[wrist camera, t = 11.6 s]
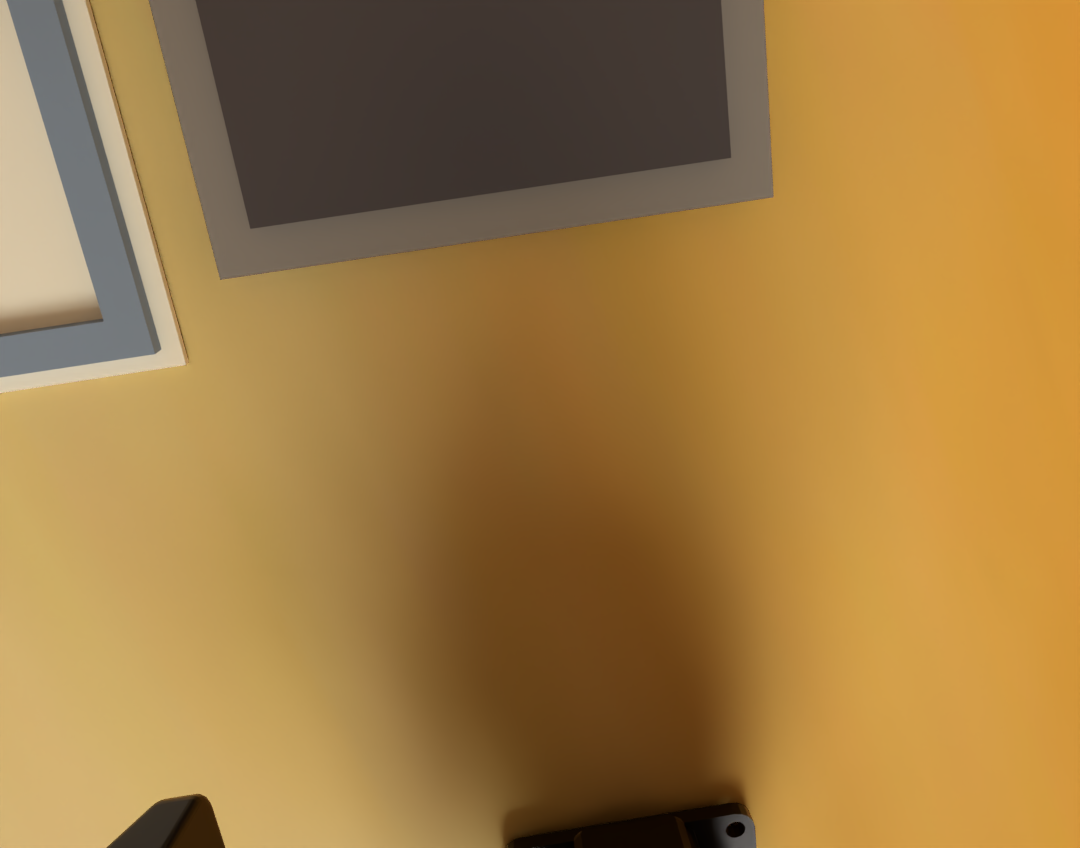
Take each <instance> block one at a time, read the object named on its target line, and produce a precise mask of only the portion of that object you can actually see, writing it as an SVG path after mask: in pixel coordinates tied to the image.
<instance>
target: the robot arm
mask: <svg viewBox="0 0 1080 848" xmlns="http://www.w3.org/2000/svg"><path fill="white" fill-rule="evenodd" d="M733 822H739V823H738V824H736V825H734V826H728V825H729V824H730V823H733ZM107 848H225V845H224V842H223V839H222V836H221V833H220V830H219V827H218V823H217V820H216V817H215V814H214V811H213V808H212V806H211V803H210V802H209V800H208V799H207V797H205V796H203V795H201V794H193V795H187V796H181V797H175V798H168V799H164V800H161V801H159V802H157V803H155V804H154V805H153V806H152V807H150V808H149V809H148V810H147V811H146V812H145V813H144V814H143V815H142V816H141V817H140V818H138V819H137V820H136V821H135V822H134V823H133V824H132V825H131V826H130V827H129V828H128V829H126V830H125V831H124V832H123V833H122V834H121V835H120V836H119V837H118V838H117V839H115V840H114V841H113V842H112V843H111V844H110V845H109V846H108V847H107ZM506 848H756V836H755V826H754V823H753V820H752V817H751V815H750V812H749V810H748V809H747V808H746V807H745V806H744V805H742V804H739V803H728V804H721V805H715V806H709V807H703V808H697V809H691V810H685V811H679V812H673V813H667V814H661V815H655V816H649V817H643V818H637V819H631V820H624V821H618V822H612V823H606V824H600V825H594V826H588V827H582V828H576V829H570V830H564V831H558V832H552V833H546V834H540V835H533V836H527V837H521V838H518V839H515V840H513V841H511V842H510V843H509V844H508V845H507V847H506Z"/></svg>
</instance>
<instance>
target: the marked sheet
mask: <svg viewBox="0 0 1080 848" xmlns="http://www.w3.org/2000/svg"><path fill="white" fill-rule="evenodd" d="M188 363H189V361H188V357H187V354H186V350H185V346H184V343H183V339H182V336H181V332H180V328H179V325H178V321H177V317H176V314H175V310H174V307H173V303H172V299H171V296H170V292H169V288H168V285H167V281H166V278H165V274H164V270H163V267H162V263H161V259H160V256H159V252H158V248H157V245H156V241H155V238H154V234H153V230H152V227H151V223H150V219H149V216H148V212H147V209H146V205H145V201H144V198H143V194H142V190H141V187H140V183H139V180H138V176H137V172H136V169H135V165H134V161H133V158H132V154H131V151H130V147H129V143H128V140H127V136H126V132H125V129H124V125H123V122H122V118H121V114H120V111H119V107H118V103H117V100H116V96H115V93H114V89H113V85H112V82H111V78H110V74H109V71H108V67H107V64H106V60H105V56H104V53H103V49H102V45H101V42H100V38H99V35H98V31H97V27H96V24H95V20H94V16H93V13H92V9H91V6H90V2H89V0H0V393H4V392H11V391H17V390H24V389H30V388H37V387H44V386H50V385H57V384H63V383H70V382H77V381H83V380H90V379H97V378H103V377H110V376H116V375H123V374H130V373H136V372H143V371H149V370H156V369H163V368H169V367H176V366H182V365H187V364H188Z"/></svg>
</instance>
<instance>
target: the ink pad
mask: <svg viewBox="0 0 1080 848" xmlns="http://www.w3.org/2000/svg"><path fill="white" fill-rule="evenodd" d="M149 3H150V7H151V11H152V15H153V19H154V22H155V26H156V30H157V34H158V38H159V42H160V46H161V50H162V54H163V58H164V62H165V65H166V69H167V73H168V77H169V81H170V85H171V89H172V93H173V97H174V101H175V105H176V108H177V112H178V116H179V120H180V124H181V128H182V132H183V136H184V140H185V144H186V148H187V151H188V155H189V159H190V163H191V167H192V171H193V175H194V179H195V183H196V187H197V191H198V194H199V198H200V202H201V206H202V210H203V214H204V218H205V222H206V226H207V230H208V234H209V237H210V241H211V245H212V249H213V253H214V257H215V261H216V265H217V269H218V273H219V277H220V280H222V279H228V278H235V277H242V276H248V275H255V274H262V273H269V272H275V271H282V270H289V269H295V268H302V267H309V266H316V265H322V264H329V263H336V262H342V261H349V260H356V259H362V258H369V257H376V256H383V255H389V254H396V253H403V252H409V251H416V250H423V249H430V248H436V247H443V246H450V245H456V244H463V243H470V242H476V241H483V240H490V239H497V238H503V237H510V236H517V235H523V234H530V233H537V232H543V231H550V230H557V229H564V228H570V227H577V226H584V225H590V224H597V223H604V222H611V221H617V220H624V219H631V218H637V217H644V216H651V215H657V214H664V213H671V212H678V211H684V210H691V209H698V208H704V207H711V206H718V205H725V204H731V203H738V202H745V201H751V200H758V199H765V198H771V197H773V178H772V158H771V138H770V118H769V99H768V79H767V59H766V39H765V19H764V0H149Z"/></svg>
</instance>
